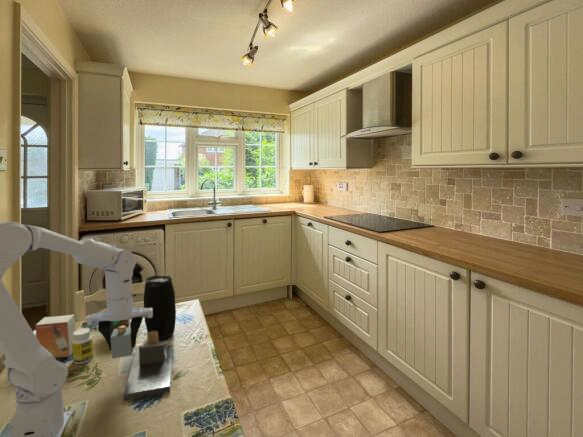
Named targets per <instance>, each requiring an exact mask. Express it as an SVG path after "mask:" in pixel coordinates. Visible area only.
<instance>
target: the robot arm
mask: <svg viewBox="0 0 583 437" xmlns="http://www.w3.org/2000/svg"><path fill="white" fill-rule="evenodd" d="M39 248H42V249H46V250H50V251H55V252H59V253H63V254H67V255H71V256H72V258H73V260H74V261H75V262H76V263H77V264H81V265H84V266H89V267H92V268H97V269H100V270H101V271H104V278H105V292H106V306H107V307H106V310H107V309H108V311H103V312H99V313H93V314H88V315H87V317H86V323H87V326H93V324H98V326H97V330H98V332H99V333H100V334H101V336H103V338H104V340H105V342H106V344H107V346H108V350H109V351H111V335H112V333H113V321H120V320H128V319H130V320H131V321H130V325H129V327H131V335H132V347H134V348H135V347H136V344H137V336H138V332H139V330H140V327H141V324H142V322H143V319H145V317H148V318H152V316H153V308H144V307H134V295H133V281H132V279H133V278H132V277H133V276H134V269H135V266H136V265H137V258H136V257H135V255H134V253H132V251H131V250H129V249H123V248H118V247H117V244H113V243H110V244H106V243H104V242H101V238H98V237H95V236H91V237H90V238H89V237H86V238H83V239H81V240H78V239H74V238H71V237H69V236H66V235H64V234H61V233H58V232H55V231H51V230H49V229H46V228H44V227H40V226H34V225H28V224H22V223H20V222H17V221H0V352H1V353H2V355H3V356H4V357H5V359H4V361H3V366H5V368H6V376H5V377H6V381H7V382H8V383H9V384H10V385H11V386H15V387H14V388H15V402H16V406H15V411H14V414H13V416H12V417H11V419H10V420H9V424H8V430H9V437H62V435H63V433H64V430H65V429H66V427H67V424H68V423H69V420H70V419H71V416H72V414H73V411H72V410H68V411H65V410H64V398H63V396H64V395H63V386H64V384H65V383H66V380H67V378H68V375H69V369H68V366H67V365H66V364H65V363H64V362H61V361H59V360H57V359H56V358H54V356H53V355H52V354H51V353H50V352H49V351H47V350H46V349H45V348H44V347H42V346H41V344H40V343H39V341H38V340H37V338H36V334H34V331H33V329H32V327H31V326H30V325H29V323H28V321H27V320H26V319H25V316H24V315H23V313H22V312H21V310H20V308H19V307H18V305H17V304H16V302H15V301H14V299H13V297H12V296H11V295H12V294H10V292H9V291H8V289H7V287H6V286H5V284H4V282H3V280H2V279H3V277H4V275H5V273H7V271H8V270H9V269H10V268H11V267H12V266H13V265H14V264H15V263H16V262H17V261H19V259H20V258H21V257H22V256H24V254H25V253H26V252H27V251H33V252H34V251H35V250H37V249H39ZM111 352H112V351H111Z"/></svg>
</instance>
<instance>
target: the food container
mask: <svg viewBox="0 0 583 437" xmlns="http://www.w3.org/2000/svg"><path fill="white" fill-rule="evenodd" d="M106 310H107V311H108V309H107V308H106ZM107 311H106V312H107ZM130 320H131V319H128V320H120V321H113V331H114V329H118V327H120V326H126V328H127V327H130V323H131V321H130Z"/></svg>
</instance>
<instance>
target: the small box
mask: <svg viewBox="0 0 583 437" xmlns="http://www.w3.org/2000/svg"><path fill="white" fill-rule="evenodd" d="M75 331H77V329H76V317H75V314H67V315H66V314H65V315H57V316H44V317H43V318H41V320H39V322H37V323H36V324H35V336H36V338H37V340H38V341H39V343H40V344H41V346H42V347H44V348H45V349H46V350H47V351H49V352H50V353H51V354H52V355H53V356H54V358H55V359H56V358H65V357H67V358H68V357H70V356H71V355H73V350H72V340H73V333H74V332H75Z"/></svg>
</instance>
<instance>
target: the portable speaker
mask: <svg viewBox="0 0 583 437" xmlns="http://www.w3.org/2000/svg"><path fill="white" fill-rule="evenodd" d="M173 284H174V283H173V278H172V276H171V275H157V274H156V275H155V274H154V275H151V276H148V277H147V278H146V280H145V283H144V291H143V292H144V293H143V308H153V316H152V318H148V317H144V323H145V327H146V331H147V332H146V334H147V333H148V332H150V331H158V341H159V342H166V341H168V340H170V339H171V338H173V335H174V333H175V329H176V321H177V320H176V319H177V318H176V317H177V309H176V291H175V288H174V285H173Z"/></svg>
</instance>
